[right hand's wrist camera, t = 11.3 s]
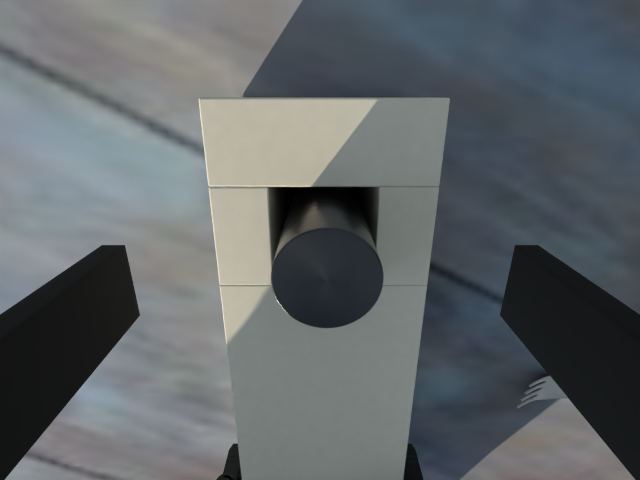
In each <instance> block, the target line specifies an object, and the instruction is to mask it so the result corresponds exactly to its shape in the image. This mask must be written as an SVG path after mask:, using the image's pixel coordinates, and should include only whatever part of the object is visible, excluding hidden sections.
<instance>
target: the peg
mask: <svg viewBox="0 0 640 480" xmlns="http://www.w3.org/2000/svg"><path fill="white" fill-rule="evenodd" d="M383 281H384V274H383V267H382V264H381V261H380V258H379V255H378V253H377V250H376V247H375V244H374V242H373V239H372V236H371V234H370V231H369V228H368V225H367V223H366V220H365V217H364V214H363V212H362V209H361V206H360V203H359V201H358V198H357V195H356V193H355V190H354V187H295V189H294V192H293V196H292V199H291V203H290V206H289V210H288V213H287V217H286V220H285V224H284V227H283V231H282V234H281V238H280V241H279V245H278V248H277V251H276V255H275V258H274V262H273V265H272V270H271V286H272V290H273V294H274V296H275V298H276V300H277V302H278V303H279V305H280V306H281V307H282V309H283V310H284V311H285V312H286V313H287V314H288V315H290V316H291V317H292V318H294V319H295V320H297V321H299V322H301V323H303V324H306V325H309V326H312V327H318V328H336V327H341V326H345V325H348V324H350V323H353V322H355V321H357V320H359V319H360V318H362V317H363V316H364V315H366V314H367V313H368V312H369V311H370V310H371V309H372V307H373V306H374V305H375V303H376V302H377V300H378V298H379V296H380V294H381V291H382V287H383Z"/></svg>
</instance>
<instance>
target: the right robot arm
mask: <svg viewBox="0 0 640 480" xmlns="http://www.w3.org/2000/svg"><path fill="white" fill-rule="evenodd" d="M139 316H140V313H139V309H138V304H137V299H136V295H135V290H134V286H133V281H132V276H131V272H130V267H129V262H128V258H127V253H126V248H125V245H102V246H100V247H99V248H97V249H96V250H94V251H93V252H91V253H90V254H89V255H87V256H86V257H84V258H83V259H81V260H80V261H78V262H77V263H75V264H74V265H72V266H71V267H70V268H68V269H67V270H65V271H64V272H62V273H61V274H59V275H58V276H56V277H55V278H53V279H52V280H50V281H49V282H48V283H46V284H45V285H43V286H42V287H40V288H39V289H37V290H36V291H34V292H33V293H31V294H30V295H28V296H27V297H26V298H24V299H23V300H21V301H20V302H18V303H17V304H15V305H14V306H12V307H11V308H9V309H8V310H6V311H5V312H4V313H2V314H1V315H0V480H5V478H6V477H7V476H8V475H9V474H10V472H11V471H12V470H13V469H14V467H15V466H16V465H17V464H18V463H19V461H20V460H21V459H22V458H23V457H24V455H25V454H26V453H27V452H28V450H29V449H30V448H31V447H32V446H33V444H34V443H35V442H36V441H37V440H38V438H39V437H40V436H41V435H42V433H43V432H44V431H45V430H46V429H47V427H48V426H49V425H50V424H51V423H52V421H53V420H54V419H55V418H56V416H57V415H58V414H59V413H60V412H61V410H62V409H63V408H64V407H65V406H66V404H67V403H68V402H69V401H70V399H71V398H72V397H73V396H74V395H75V393H76V392H77V391H78V390H79V389H80V387H81V386H82V385H83V384H84V382H85V381H86V380H87V379H88V378H89V376H90V375H91V374H92V373H93V372H94V370H95V369H96V368H97V367H98V365H99V364H100V363H101V362H102V361H103V359H104V358H105V357H106V356H107V355H108V353H109V352H110V351H111V350H112V348H113V347H114V346H115V345H116V344H117V342H118V341H119V340H120V339H121V338H122V336H123V335H124V334H125V333H126V331H127V330H128V329H129V328H130V327H131V325H132V324H133V323H134V322H135V321H136V319H137V318H138V317H139ZM500 316H501V317H502V318H503V319H504V321H505V322H506V323H507V324H508V325H509V327H510V328H511V329H512V330H513V331H514V333H515V334H516V335H517V336H518V338H519V339H520V340H521V341H522V342H523V344H524V345H525V346H526V347H527V348H528V350H529V351H530V352H531V353H532V355H533V356H534V357H535V358H536V359H537V361H538V362H539V363H540V364H541V365H542V367H543V368H544V369H545V370H546V372H547V373H548V374H549V375H550V376H551V378H552V379H553V380H554V381H555V382H556V384H557V385H558V386H559V387H560V389H561V390H562V391H563V392H564V393H565V395H566V396H567V397H568V398H569V399H570V401H571V402H572V403H573V404H574V406H575V407H576V408H577V409H578V410H579V412H580V413H581V414H582V415H583V416H584V418H585V419H586V420H587V421H588V423H589V424H590V425H591V426H592V427H593V429H594V430H595V431H596V432H597V433H598V435H599V436H600V437H601V438H602V440H603V441H604V442H605V443H606V444H607V446H608V447H609V448H610V449H611V450H612V452H613V453H614V454H615V455H616V457H617V458H618V459H619V460H620V461H621V463H622V464H623V465H624V466H625V467H626V469H627V470H628V471H629V472H630V474H631V475H632V476H633V477H634V478H635V480H640V315H639V314H638V313H636V312H635V311H634V310H632V309H631V308H629V307H628V306H626V305H625V304H623V303H622V302H620V301H619V300H617V299H616V298H614V297H613V296H612V295H610V294H609V293H607V292H606V291H604V290H603V289H601V288H600V287H598V286H597V285H595V284H594V283H592V282H591V281H590V280H588V279H587V278H585V277H584V276H582V275H581V274H579V273H578V272H576V271H575V270H573V269H572V268H570V267H569V266H568V265H566V264H565V263H563V262H562V261H560V260H559V259H557V258H556V257H554V256H553V255H551V254H550V253H549V252H547V251H546V250H544V249H543V248H541V247H540V246H538V245H515V248H514V253H513V258H512V262H511V267H510V272H509V276H508V281H507V286H506V290H505V295H504V299H503V304H502V309H501V313H500Z"/></svg>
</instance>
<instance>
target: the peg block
mask: <svg viewBox="0 0 640 480" xmlns="http://www.w3.org/2000/svg"><path fill="white" fill-rule="evenodd" d="M449 104H450V98H321V97H200V98H199V107H200V116H201V125H202V133H203V142H204V151H205V160H206V168H207V177H208V185H209V186H210V187H209V195H210V204H211V213H212V221H213V230H214V239H215V248H216V256H217V265H218V274H219V283H220V292H221V301H222V310H223V318H224V327H225V336H226V345H227V353H228V362H229V371H230V379H231V388H232V397H233V406H234V414H235V423H236V432H237V441H238V449H239V458H240V467H241V476H242V480H403V477H404V469H405V461H406V453H407V445H408V437H409V429H410V421H411V413H412V404H413V396H414V388H415V380H416V372H417V364H418V356H419V348H420V340H421V332H422V324H423V316H424V307H425V299H426V291H427V283H428V275H429V267H430V259H431V251H432V243H433V235H434V226H435V218H436V210H437V202H438V194H439V187H438V186H439V185H440V177H441V169H442V161H443V152H444V144H445V136H446V128H447V120H448V112H449ZM286 187H359V203H360V206H361V209H362V212H363V214H364V217H365V220H366V223H367V225H368V228H369V231H370V234H371V236H372V239H373V242H374V244H375V247H376V250H377V253H378V255H379V258H380V261H381V264H382V267H383V274H384V281H383V287H382V291H381V294H380V296H379V298H378V300H377V302H376V303H375V305H374V306H373V307H372V309H371V310H370V311H369V312H368V313H367V314H366V315H364V316H363V317H362V318H360V319H359V320H357V321H355V322H353V323H350V324H348V325H345V326H341V327H336V328H318V327H312V326H309V325H306V324H303V323H301V322H299V321H297V320H295V319H294V318H292V317H291V316H290V315H288V314H287V313H286V312H285V311H284V310H283V309H282V307H281V306H280V305H279V303H278V302H277V300H276V298H275V296H274V294H273V290H272V286H271V270H272V265H273V262H274V258H275V255H276V251H277V248H278V245H279V241H280V238H281V234H282V231H283V227H284V224H285V220H286V217H287V200H286Z"/></svg>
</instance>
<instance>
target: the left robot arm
mask: <svg viewBox="0 0 640 480" xmlns="http://www.w3.org/2000/svg"><path fill="white" fill-rule="evenodd" d="M217 480H242V476H241V467H240V458H239V449H238V444H233V445H232V447H231V448H230V449H229V453H228V457H227V460H226V464H225V468H224V472H223V474H222V475H220V476H219V477H218V478H217ZM403 480H423V477H422V473H421V469H420V466H419V463H418V458H417V454H416V451H415V449H414V447H413V446H412V444H408V445H407V453H406V461H405V469H404V477H403Z"/></svg>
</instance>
